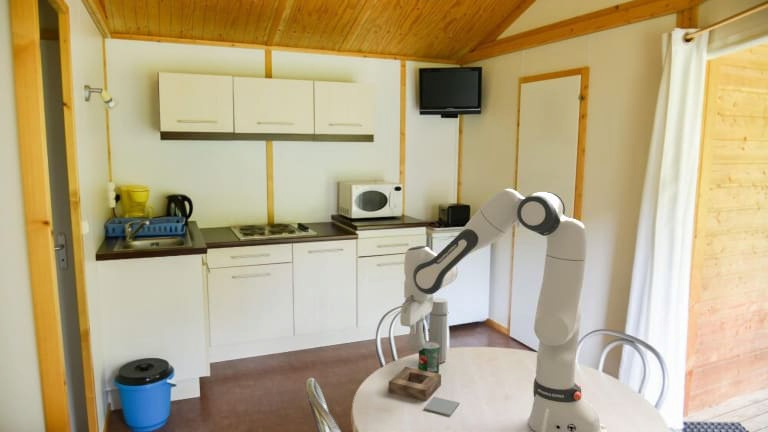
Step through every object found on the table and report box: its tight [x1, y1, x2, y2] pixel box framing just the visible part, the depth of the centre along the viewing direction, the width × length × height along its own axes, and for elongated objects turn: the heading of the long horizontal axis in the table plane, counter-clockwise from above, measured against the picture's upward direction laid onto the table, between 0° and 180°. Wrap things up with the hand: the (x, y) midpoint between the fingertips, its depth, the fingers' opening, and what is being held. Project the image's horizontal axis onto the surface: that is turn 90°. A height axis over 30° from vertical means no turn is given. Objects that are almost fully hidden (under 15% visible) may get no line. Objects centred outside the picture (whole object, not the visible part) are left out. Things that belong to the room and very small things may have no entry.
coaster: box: [423, 396, 460, 417], centre depth 165 cm, size 9×9×1 cm
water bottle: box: [428, 297, 450, 364], centre depth 202 cm, size 9×8×25 cm
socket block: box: [388, 366, 442, 402], centre depth 177 cm, size 14×14×4 cm
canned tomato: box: [417, 340, 440, 374], centre depth 191 cm, size 8×8×11 cm
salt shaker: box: [407, 314, 426, 352], centre depth 175 cm, size 6×6×13 cm
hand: (416, 331), depth 175 cm, fingers closed on salt shaker, 4 cm apart
